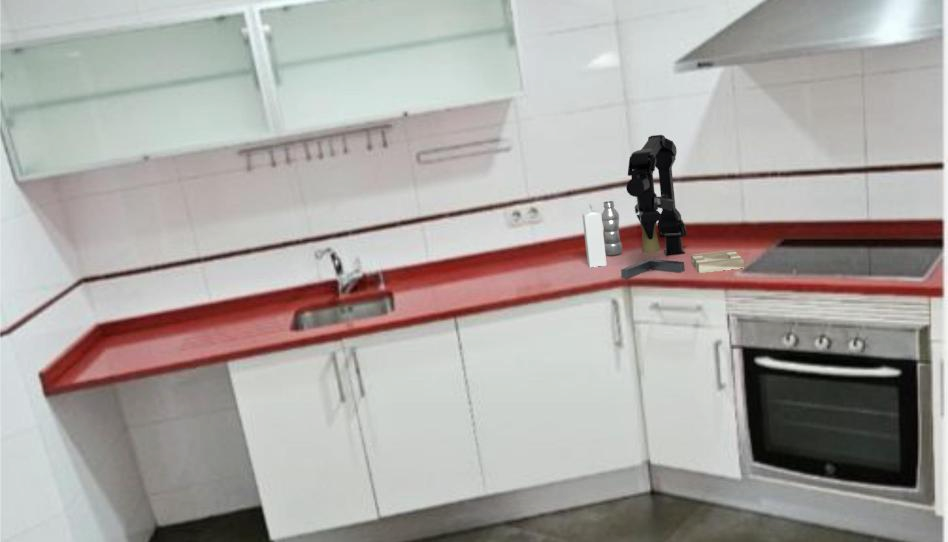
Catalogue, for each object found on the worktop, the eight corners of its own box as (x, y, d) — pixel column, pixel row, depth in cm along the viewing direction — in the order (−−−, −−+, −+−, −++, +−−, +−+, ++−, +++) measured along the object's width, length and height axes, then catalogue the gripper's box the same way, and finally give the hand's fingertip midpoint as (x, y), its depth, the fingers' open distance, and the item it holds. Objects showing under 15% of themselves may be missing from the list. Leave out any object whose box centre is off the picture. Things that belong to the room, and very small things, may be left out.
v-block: (619, 270, 278) (618, 262, 277) (679, 263, 275) (679, 255, 275) (622, 279, 267) (621, 270, 266) (685, 272, 264) (684, 263, 264)
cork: (659, 247, 269) (656, 215, 266) (661, 252, 263) (658, 218, 260) (640, 250, 269) (637, 217, 267) (642, 254, 264) (639, 221, 261)
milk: (590, 268, 287) (582, 207, 282) (587, 264, 293) (580, 204, 288) (607, 265, 287) (600, 204, 282) (604, 262, 293) (597, 202, 288)
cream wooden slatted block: (691, 263, 274) (691, 254, 273) (734, 258, 272) (733, 249, 272) (699, 273, 260) (698, 264, 260) (744, 268, 259) (743, 259, 258)
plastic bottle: (609, 252, 306) (604, 200, 302) (625, 252, 302) (620, 200, 298) (601, 256, 301) (596, 204, 297) (618, 257, 297) (612, 203, 293)
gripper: (675, 191, 252) (679, 240, 255) (666, 183, 270) (670, 229, 273) (638, 196, 253) (643, 244, 256) (632, 187, 271) (637, 233, 274)
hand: (649, 237), depth 265 cm, fingers closed on cork, 4 cm apart
